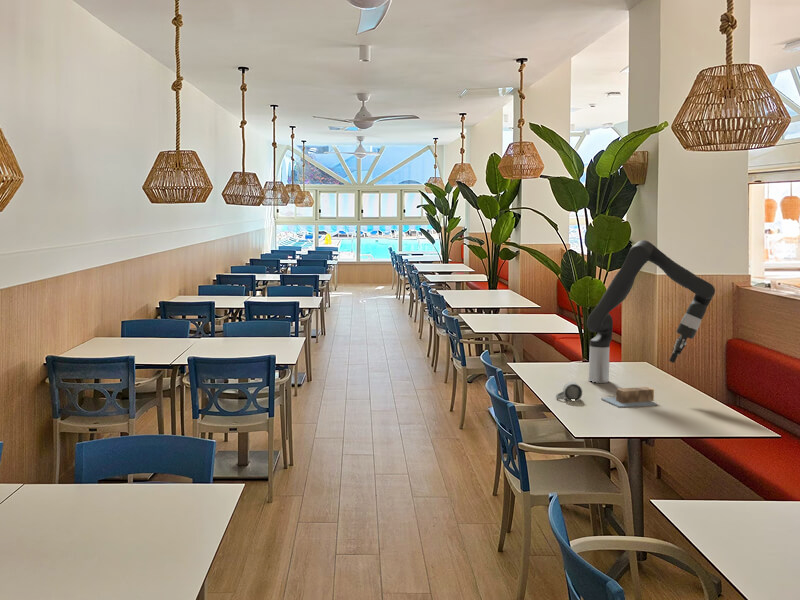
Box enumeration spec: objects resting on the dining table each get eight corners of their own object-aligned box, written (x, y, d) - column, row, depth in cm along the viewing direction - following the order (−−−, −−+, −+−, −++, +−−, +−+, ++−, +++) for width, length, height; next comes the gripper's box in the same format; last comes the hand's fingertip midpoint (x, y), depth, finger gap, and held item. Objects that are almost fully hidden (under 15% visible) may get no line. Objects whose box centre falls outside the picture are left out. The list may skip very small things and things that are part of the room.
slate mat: (637, 397, 316) (637, 395, 316) (657, 405, 302) (657, 403, 302) (601, 399, 311) (601, 398, 311) (619, 407, 298) (619, 406, 298)
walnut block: (647, 386, 311) (616, 388, 307) (654, 389, 306) (623, 391, 302) (646, 398, 312) (615, 400, 308) (653, 401, 307) (622, 403, 303)
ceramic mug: (579, 397, 315) (579, 380, 314) (582, 402, 307) (582, 384, 306) (554, 397, 316) (555, 379, 315) (557, 401, 308) (557, 384, 307)
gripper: (679, 321, 319) (661, 356, 321) (682, 323, 306) (664, 360, 308) (695, 328, 317) (678, 363, 319) (699, 330, 304) (681, 367, 307)
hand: (671, 361), depth 314 cm, fingers closed
